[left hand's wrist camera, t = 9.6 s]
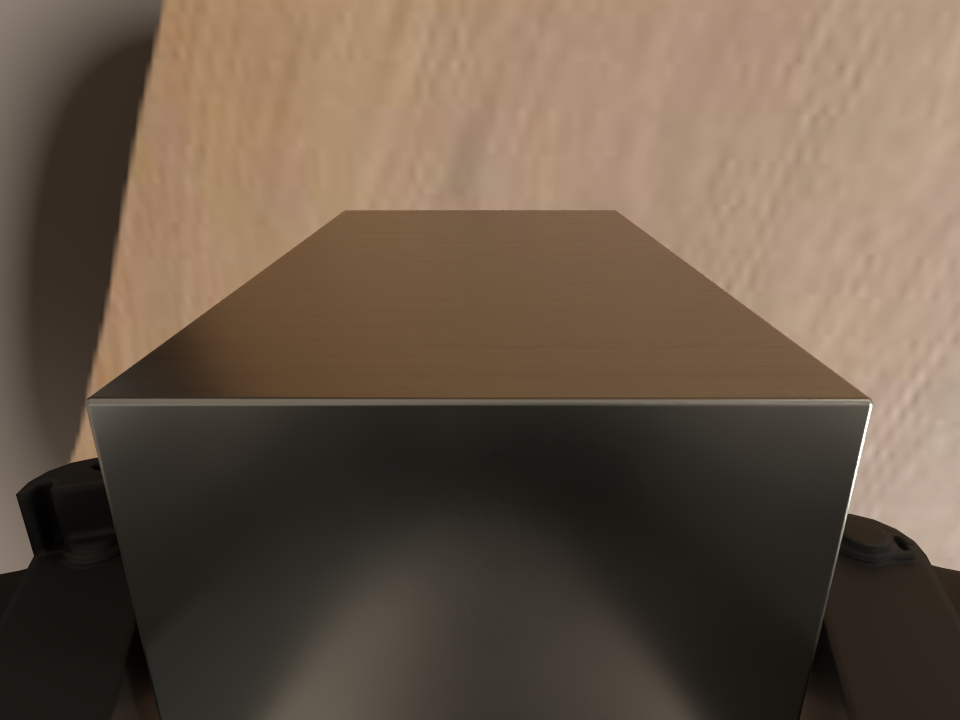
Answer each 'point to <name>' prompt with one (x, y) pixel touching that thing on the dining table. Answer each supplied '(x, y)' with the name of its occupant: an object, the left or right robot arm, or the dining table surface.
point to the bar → (479, 483)
